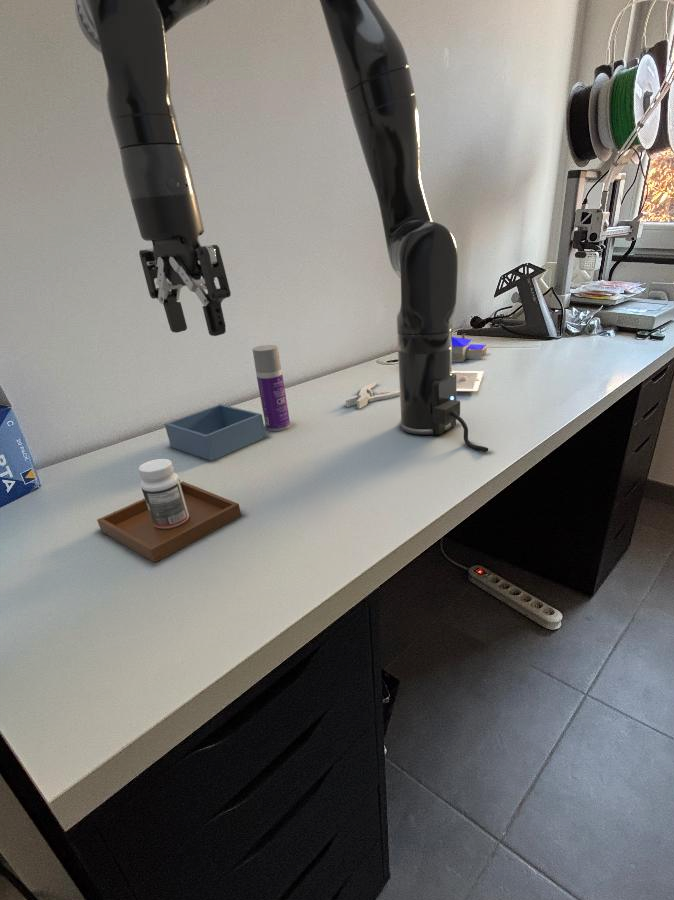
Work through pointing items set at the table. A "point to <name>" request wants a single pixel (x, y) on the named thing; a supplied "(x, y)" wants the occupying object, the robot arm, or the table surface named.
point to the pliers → (365, 397)
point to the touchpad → (468, 380)
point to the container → (271, 387)
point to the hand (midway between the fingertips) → (198, 333)
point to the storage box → (212, 446)
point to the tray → (158, 543)
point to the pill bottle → (163, 494)
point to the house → (466, 349)
